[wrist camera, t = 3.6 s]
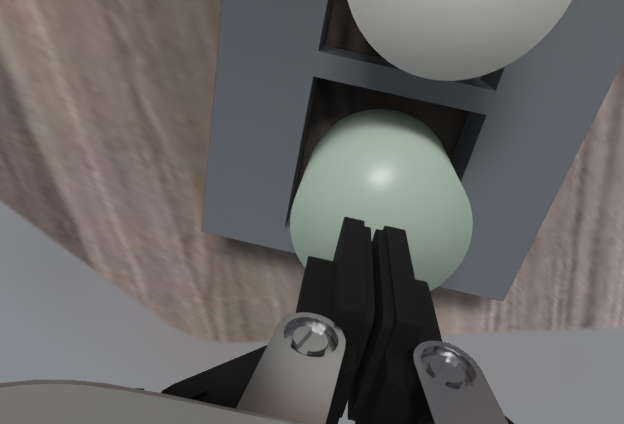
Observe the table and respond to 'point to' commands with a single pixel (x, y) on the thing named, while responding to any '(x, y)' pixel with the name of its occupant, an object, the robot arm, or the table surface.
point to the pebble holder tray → (388, 78)
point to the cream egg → (454, 33)
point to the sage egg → (384, 192)
